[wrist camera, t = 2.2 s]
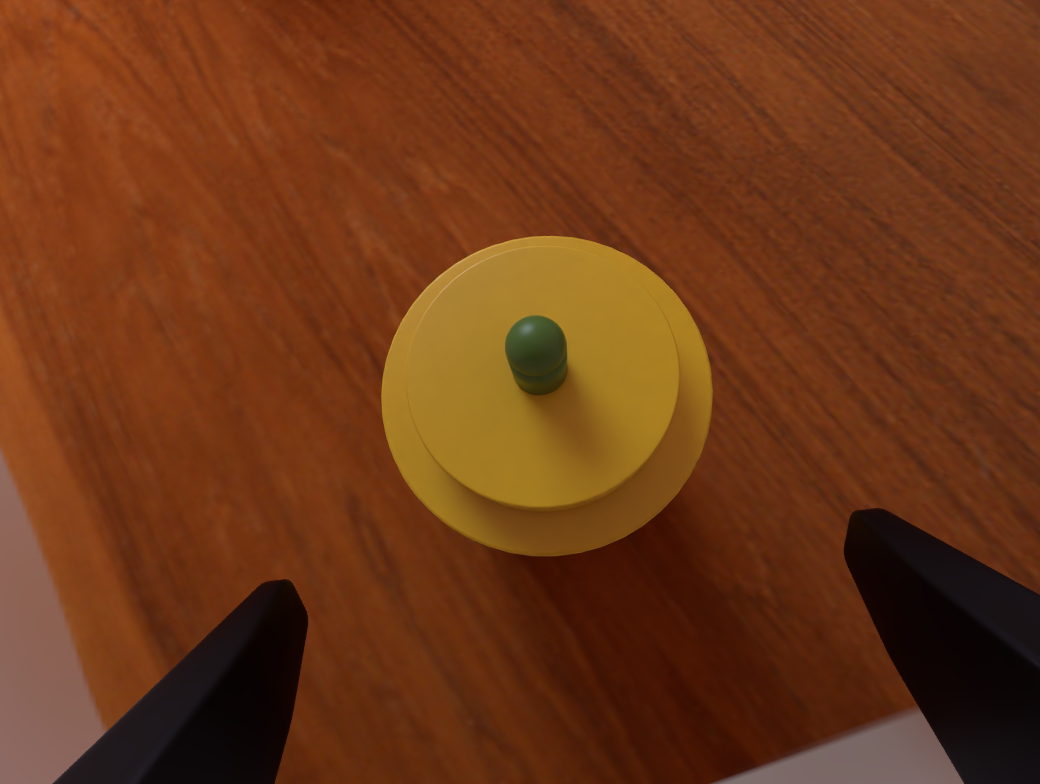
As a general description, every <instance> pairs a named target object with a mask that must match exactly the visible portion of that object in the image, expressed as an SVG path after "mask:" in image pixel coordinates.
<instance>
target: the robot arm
mask: <svg viewBox="0 0 1040 784" xmlns="http://www.w3.org/2000/svg"><path fill="white" fill-rule="evenodd" d="M844 556H845V560H846V563H847V566H848V568H849V570H850V572H851V575H852V577H853V579H854V581H855V583H856V585H857V588H858V590H859V592H860V594H861V596H862V598H863V601H864V603H865V605H866V607H867V609H868V611H869V614H870V616H871V618H872V620H873V622H874V625H875V627H876V629H877V631H878V633H879V635H880V638H881V640H882V642H883V644H884V646H885V648H886V650H887V652H888V654H889V656H890V658H891V660H892V662H893V663H894V665H895V667H896V669H897V670H898V672H899V674H900V676H901V677H902V679H903V681H904V682H905V684H906V686H907V688H908V689H909V691H910V693H911V694H912V696H913V698H914V699H915V701H916V703H917V704H918V706H919V708H920V710H921V711H922V713H923V715H924V716H925V718H926V719H927V721H928V723H929V725H930V726H931V728H932V730H933V731H934V733H935V735H936V736H937V738H938V740H939V742H940V743H941V745H942V747H943V748H944V750H945V752H946V753H947V755H948V757H949V759H950V760H951V762H952V764H953V765H954V767H955V769H956V770H957V772H958V774H959V775H960V777H961V779H962V781H963V782H964V784H1040V595H1039V594H1037V593H1035V592H1034V591H1032V590H1030V589H1028V588H1026V587H1025V586H1023V585H1021V584H1019V583H1017V582H1015V581H1014V580H1012V579H1010V578H1008V577H1006V576H1005V575H1003V574H1001V573H999V572H997V571H995V570H994V569H992V568H990V567H988V566H986V565H985V564H983V563H981V562H979V561H977V560H976V559H974V558H972V557H970V556H968V555H966V554H965V553H963V552H961V551H959V550H957V549H956V548H954V547H952V546H950V545H948V544H947V543H945V542H943V541H941V540H939V539H937V538H936V537H934V536H932V535H930V534H928V533H927V532H925V531H923V530H921V529H919V528H917V527H916V526H914V525H912V524H910V523H908V522H907V521H905V520H903V519H901V518H899V517H898V516H896V515H894V514H892V513H890V512H888V511H886V510H884V509H881V508H873V509H865V510H857V511H854V512H853V513H852V514H851V516H850V519H849V524H848V529H847V534H846V539H845V545H844ZM307 629H308V615H307V611H306V609H305V607H304V605H303V603H302V601H301V599H300V597H299V595H298V593H297V591H296V589H295V587H294V585H293V583H292V582H291V581H289V580H286V579H283V580H275V581H267V582H264V583H262V584H261V585H260V586H258V587H257V588H256V589H255V590H254V591H253V592H252V593H251V594H250V595H249V596H248V597H247V598H246V599H245V600H244V601H243V602H242V603H241V604H240V605H239V606H238V607H237V608H235V609H234V610H233V611H232V612H231V613H230V614H229V615H228V616H227V617H226V618H225V619H224V620H223V621H222V622H221V623H220V624H219V625H218V626H217V627H216V628H215V629H214V630H213V631H211V632H210V633H209V634H208V635H207V636H206V637H205V638H204V639H203V640H202V641H201V642H200V643H199V644H198V645H197V646H196V647H195V648H194V649H193V650H192V651H191V652H190V653H189V654H187V655H186V656H185V657H184V658H183V659H182V660H181V661H180V662H179V663H178V664H177V665H176V666H175V667H174V668H173V669H172V670H171V671H170V672H169V673H168V674H167V675H166V676H165V677H163V678H162V679H161V680H160V681H159V682H158V683H157V684H156V685H155V686H154V687H153V688H152V689H151V690H150V691H149V692H148V693H147V694H146V695H145V696H144V697H143V698H142V699H141V700H139V701H138V702H137V703H136V704H135V705H134V706H133V707H132V708H131V709H130V710H129V711H128V712H127V713H126V714H125V715H124V716H123V717H122V718H121V719H120V720H119V721H118V722H117V723H115V724H114V725H113V726H112V727H111V728H110V729H109V730H108V731H107V732H106V733H105V734H104V735H103V736H102V737H101V738H100V739H99V740H98V741H97V742H96V743H95V744H94V745H93V746H92V747H90V748H89V749H88V750H87V751H86V752H85V753H84V754H83V755H82V756H81V757H80V758H79V759H78V760H77V761H76V762H75V763H74V764H73V765H72V766H71V767H70V768H69V769H68V770H67V771H66V772H64V773H63V774H62V775H61V776H60V777H59V778H58V779H57V780H56V781H55V782H54V783H53V784H274V783H275V780H276V776H277V773H278V769H279V765H280V762H281V758H282V754H283V751H284V747H285V744H286V740H287V736H288V732H289V728H290V724H291V720H292V715H293V710H294V705H295V699H296V694H297V688H298V682H299V676H300V670H301V664H302V658H303V652H304V646H305V640H306V635H307Z"/></svg>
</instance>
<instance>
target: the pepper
mask: <svg viewBox="0 0 1040 784" xmlns="http://www.w3.org/2000/svg"><path fill="white" fill-rule="evenodd" d="M712 400H713V387H712V376H711V368H710V364H709V359H708V355H707V351H706V348H705V345H704V342H703V340H702V337H701V334H700V332H699V329H698V328H697V326H696V324H695V322H694V320H693V318H692V317H691V315H690V313H689V311H688V310H687V308H686V307H685V306H684V304H683V303H682V302H681V300H680V299H679V297H678V296H677V295H676V294H675V293H674V292H673V290H672V289H671V288H670V287H669V286H668V285H667V284H666V283H665V282H664V281H663V280H662V279H661V278H660V277H658V276H657V275H656V274H655V273H653V272H652V271H651V270H650V269H648V268H647V267H646V266H644V265H643V264H641V263H640V262H638V261H636V260H635V259H633V258H631V257H630V256H628V255H626V254H624V253H621V252H619V251H617V250H615V249H613V248H611V247H608V246H604V245H601V244H598V243H595V242H592V241H587V240H582V239H577V238H572V237H559V236H540V237H528V238H521V239H515V240H510V241H507V242H503V243H500V244H496V245H493V246H490V247H488V248H485V249H483V250H481V251H478V252H476V253H474V254H472V255H470V256H468V257H466V258H465V259H463V260H461V261H459V262H458V263H456V264H455V265H453V266H452V267H450V268H449V269H448V270H446V271H445V272H444V273H442V274H441V275H440V276H439V277H438V278H436V279H435V280H434V281H433V282H432V283H431V284H430V285H429V286H428V287H427V288H426V289H425V290H424V291H423V292H422V294H421V295H420V296H419V297H418V298H417V300H416V301H415V302H414V303H413V304H412V306H411V307H410V309H409V311H408V312H407V314H406V315H405V317H404V318H403V320H402V322H401V324H400V326H399V328H398V330H397V332H396V334H395V336H394V338H393V341H392V344H391V347H390V350H389V353H388V356H387V359H386V364H385V369H384V374H383V381H382V396H381V401H382V416H383V423H384V428H385V433H386V438H387V441H388V444H389V447H390V450H391V453H392V456H393V458H394V461H395V463H396V465H397V467H398V468H399V470H400V472H401V474H402V476H403V478H404V480H405V481H406V483H407V484H408V485H409V487H410V488H411V490H412V491H413V493H414V494H415V495H416V497H417V498H418V499H419V500H420V501H421V502H422V503H423V504H424V505H425V506H426V507H427V508H428V510H429V511H430V512H431V513H433V514H434V515H435V516H436V517H438V518H439V519H440V520H441V521H442V522H444V523H445V524H446V525H447V526H449V527H450V528H452V529H454V530H455V531H457V532H459V533H460V534H462V535H463V536H465V537H467V538H469V539H471V540H473V541H476V542H478V543H480V544H483V545H485V546H487V547H490V548H494V549H498V550H501V551H505V552H508V553H513V554H521V555H528V556H562V555H570V554H577V553H582V552H586V551H589V550H593V549H596V548H600V547H603V546H605V545H608V544H610V543H612V542H615V541H617V540H619V539H622V538H624V537H626V536H627V535H629V534H631V533H632V532H634V531H635V530H637V529H639V528H640V527H642V526H644V525H645V524H646V523H647V522H649V521H650V520H651V519H652V518H654V517H655V516H656V515H657V514H658V513H660V512H661V511H662V510H663V509H664V508H665V507H666V506H667V505H668V504H669V502H670V501H671V500H672V499H673V498H674V497H675V496H676V495H677V494H678V492H679V491H680V490H681V488H682V487H683V485H684V484H685V482H686V481H687V480H688V478H689V477H690V475H691V473H692V471H693V469H694V467H695V465H696V463H697V461H698V459H699V457H700V455H701V453H702V450H703V447H704V444H705V441H706V438H707V435H708V430H709V425H710V420H711V415H712Z"/></svg>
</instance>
